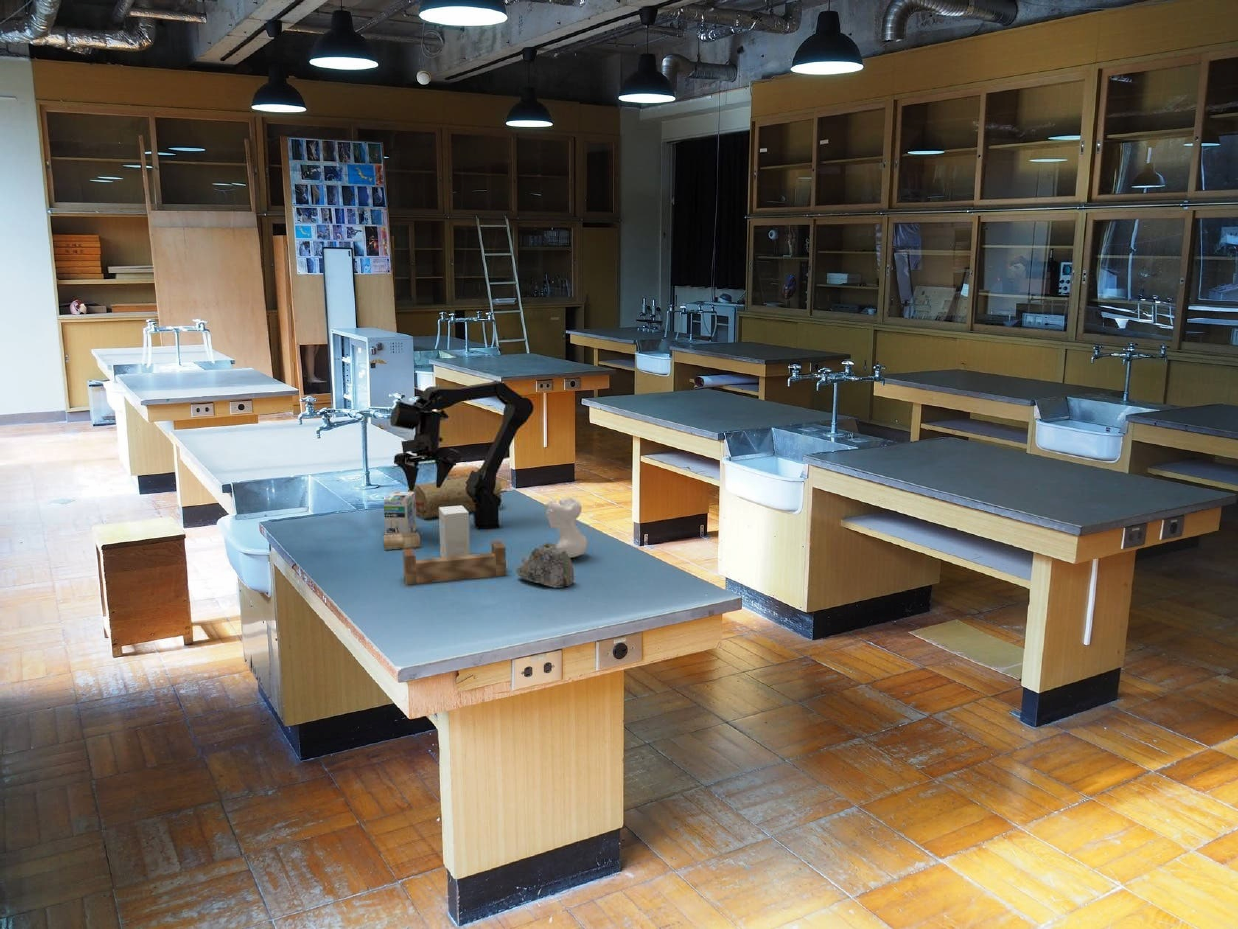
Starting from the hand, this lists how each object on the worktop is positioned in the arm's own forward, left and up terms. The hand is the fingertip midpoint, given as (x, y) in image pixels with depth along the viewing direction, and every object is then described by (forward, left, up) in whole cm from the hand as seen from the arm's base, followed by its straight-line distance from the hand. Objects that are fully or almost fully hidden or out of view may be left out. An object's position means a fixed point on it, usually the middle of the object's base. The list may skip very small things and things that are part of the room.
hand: (424, 489), depth 276 cm
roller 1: (+7, 0, -15) cm, 16 cm away
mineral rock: (-23, +43, -15) cm, 51 cm away
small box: (-5, +18, -15) cm, 24 cm away
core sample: (-12, -31, -15) cm, 37 cm away
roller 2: (+7, +4, -15) cm, 17 cm away
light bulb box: (+6, -11, -15) cm, 20 cm away
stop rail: (-3, +32, -15) cm, 35 cm away
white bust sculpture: (-32, +25, -15) cm, 43 cm away
